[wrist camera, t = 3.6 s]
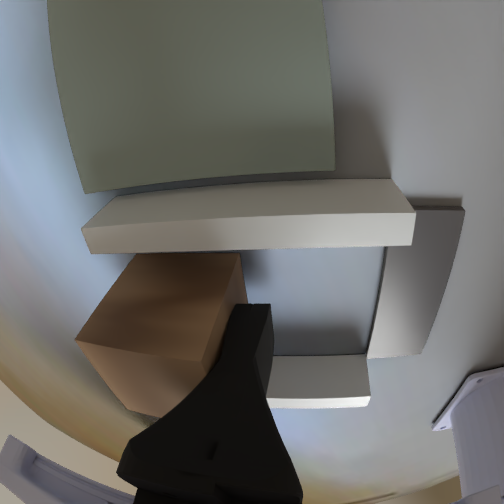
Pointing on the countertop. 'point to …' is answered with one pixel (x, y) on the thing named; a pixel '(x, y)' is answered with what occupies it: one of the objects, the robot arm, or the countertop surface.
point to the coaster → (192, 88)
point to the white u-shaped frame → (306, 236)
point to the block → (163, 326)
